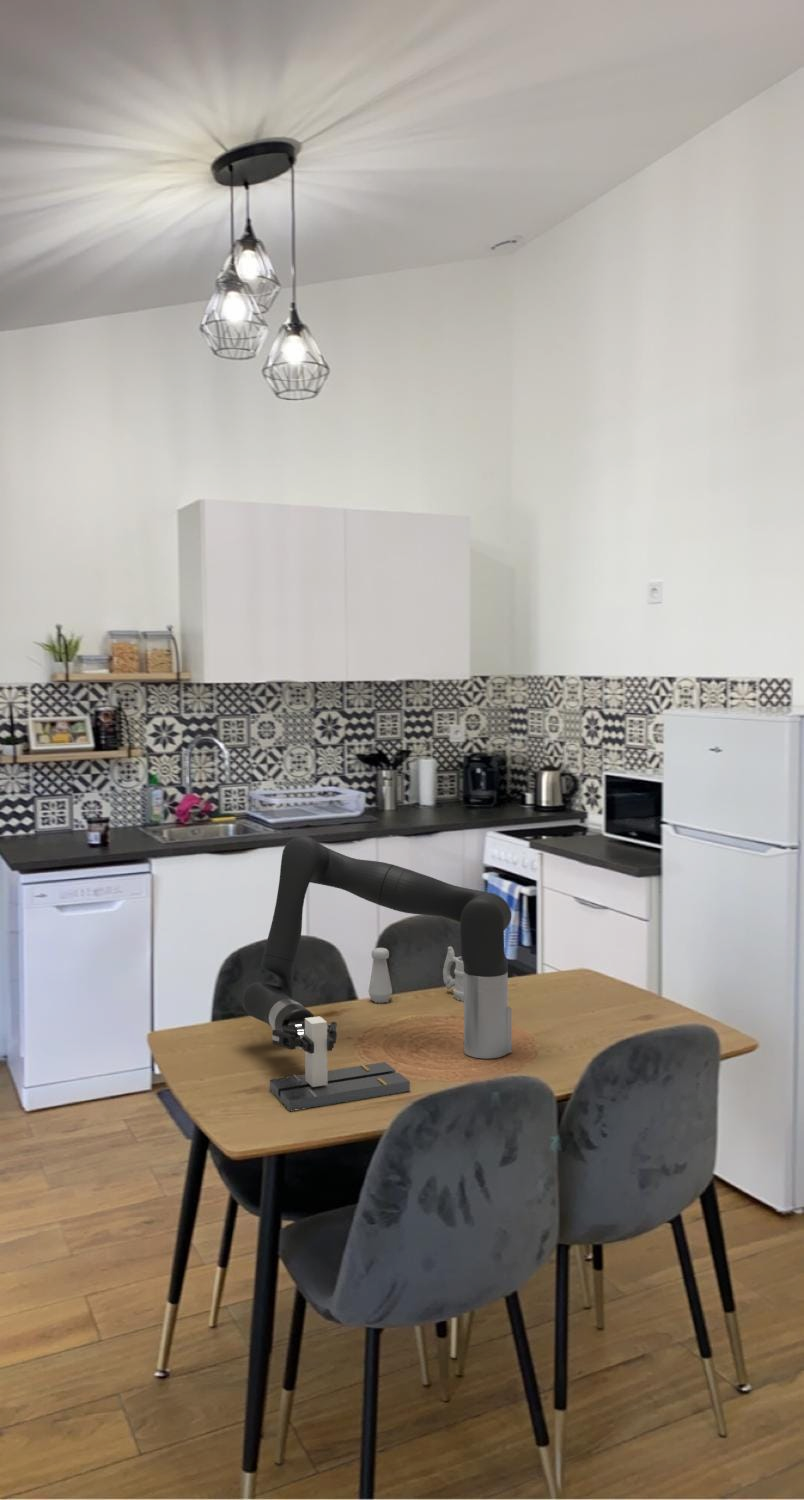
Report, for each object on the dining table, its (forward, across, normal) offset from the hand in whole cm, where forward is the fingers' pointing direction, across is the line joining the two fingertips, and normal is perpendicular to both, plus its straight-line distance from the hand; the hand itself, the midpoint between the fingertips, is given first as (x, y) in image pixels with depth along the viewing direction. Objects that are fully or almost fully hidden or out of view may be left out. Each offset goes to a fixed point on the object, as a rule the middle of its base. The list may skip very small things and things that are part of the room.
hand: (321, 1046), depth 207 cm
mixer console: (-3, +5, +10) cm, 11 cm away
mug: (-51, +56, +10) cm, 76 cm away
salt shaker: (-56, +36, +10) cm, 67 cm away
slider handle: (-3, 0, +9) cm, 9 cm away
